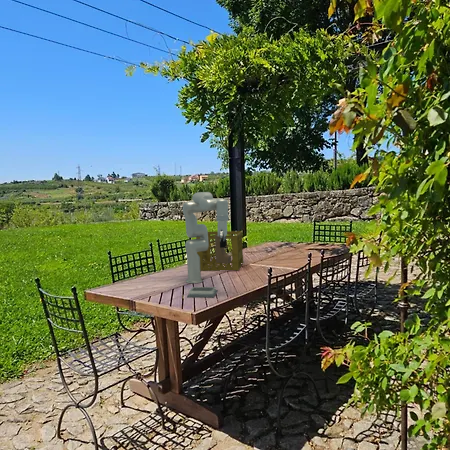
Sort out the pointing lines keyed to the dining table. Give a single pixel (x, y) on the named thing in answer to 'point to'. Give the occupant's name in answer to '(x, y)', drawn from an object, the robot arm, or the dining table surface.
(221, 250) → the wooden block
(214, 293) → the end cap
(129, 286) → the dining table surface
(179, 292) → the dining table surface
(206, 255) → the milk crate
